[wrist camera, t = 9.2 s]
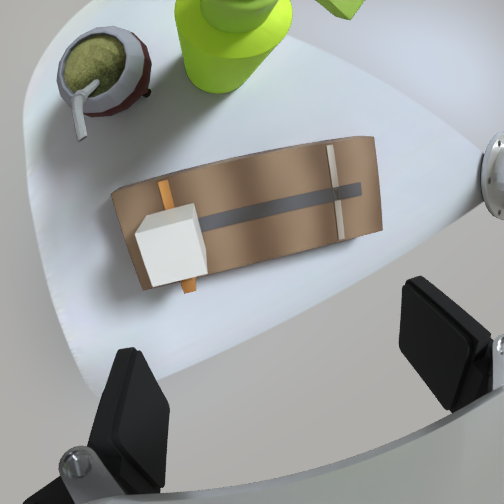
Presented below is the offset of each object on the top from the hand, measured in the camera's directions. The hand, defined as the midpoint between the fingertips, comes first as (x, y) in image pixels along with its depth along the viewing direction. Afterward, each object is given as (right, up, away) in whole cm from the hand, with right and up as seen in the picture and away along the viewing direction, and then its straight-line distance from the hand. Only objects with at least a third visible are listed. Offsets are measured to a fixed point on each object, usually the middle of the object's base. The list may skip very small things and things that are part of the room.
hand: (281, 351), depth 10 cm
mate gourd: (-12, +18, +13) cm, 25 cm away
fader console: (-1, +8, +19) cm, 20 cm away
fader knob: (-7, +5, +15) cm, 17 cm away
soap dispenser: (-3, +20, +14) cm, 24 cm away
